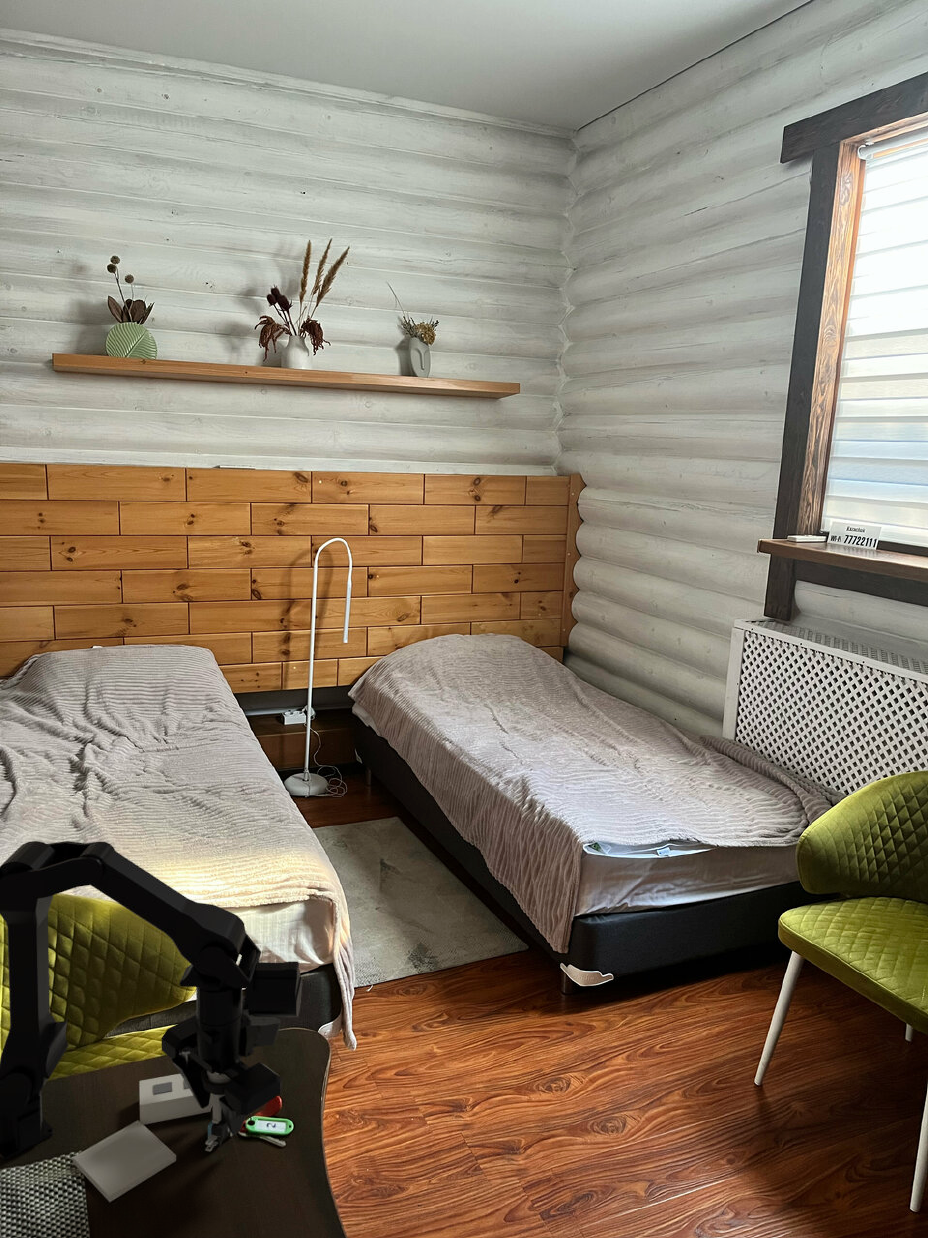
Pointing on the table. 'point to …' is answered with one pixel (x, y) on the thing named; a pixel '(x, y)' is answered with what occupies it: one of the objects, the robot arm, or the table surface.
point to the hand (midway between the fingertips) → (220, 1119)
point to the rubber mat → (124, 1160)
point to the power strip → (168, 1099)
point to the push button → (216, 1108)
